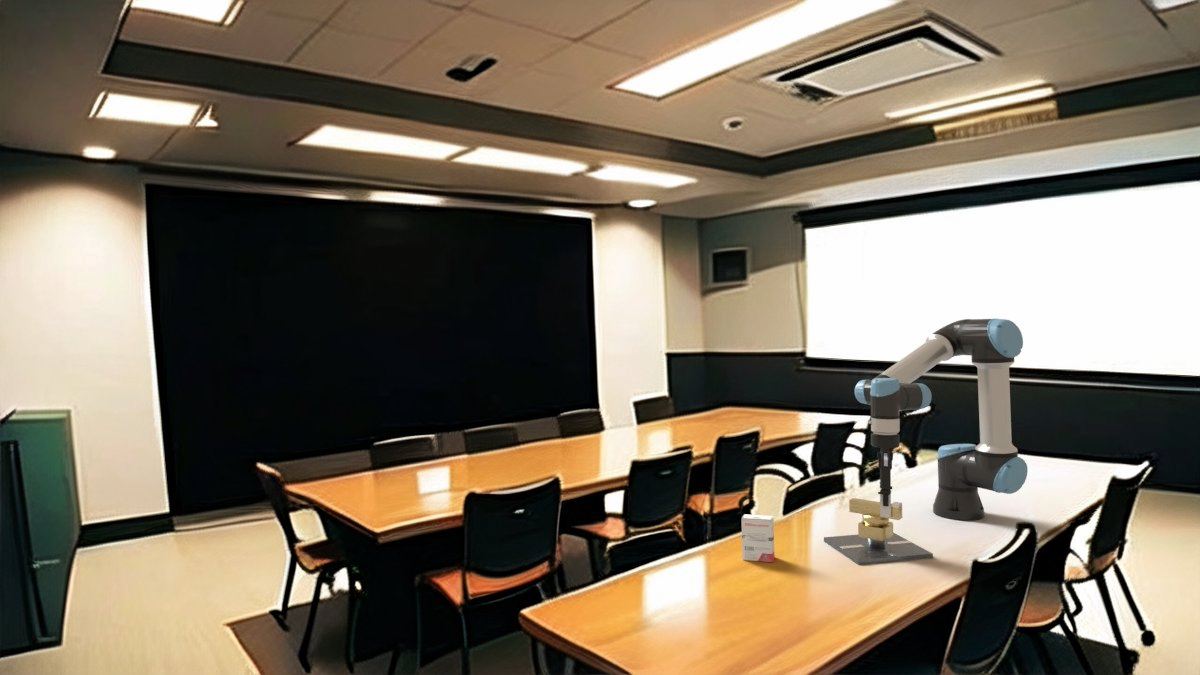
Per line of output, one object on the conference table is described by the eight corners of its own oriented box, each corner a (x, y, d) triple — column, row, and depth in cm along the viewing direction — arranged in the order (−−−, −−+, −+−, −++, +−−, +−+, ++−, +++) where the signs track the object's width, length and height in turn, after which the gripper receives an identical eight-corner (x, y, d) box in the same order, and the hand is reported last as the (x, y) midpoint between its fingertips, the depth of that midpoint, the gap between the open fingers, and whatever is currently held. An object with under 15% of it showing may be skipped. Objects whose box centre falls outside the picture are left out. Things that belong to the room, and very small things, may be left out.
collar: (857, 527, 207) (856, 493, 207) (905, 536, 198) (905, 500, 197) (846, 534, 201) (845, 499, 201) (896, 543, 192) (895, 506, 191)
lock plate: (891, 535, 211) (891, 512, 211) (932, 557, 191) (932, 532, 191) (823, 541, 208) (823, 517, 208) (858, 564, 188) (857, 538, 188)
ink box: (775, 556, 196) (774, 514, 196) (773, 562, 192) (772, 520, 191) (744, 554, 199) (743, 513, 199) (741, 560, 194) (740, 518, 194)
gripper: (870, 427, 206) (870, 505, 207) (871, 437, 190) (871, 521, 191) (897, 428, 204) (898, 508, 204) (901, 438, 187) (901, 524, 188)
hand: (885, 514), depth 197 cm, fingers open, 4 cm apart
